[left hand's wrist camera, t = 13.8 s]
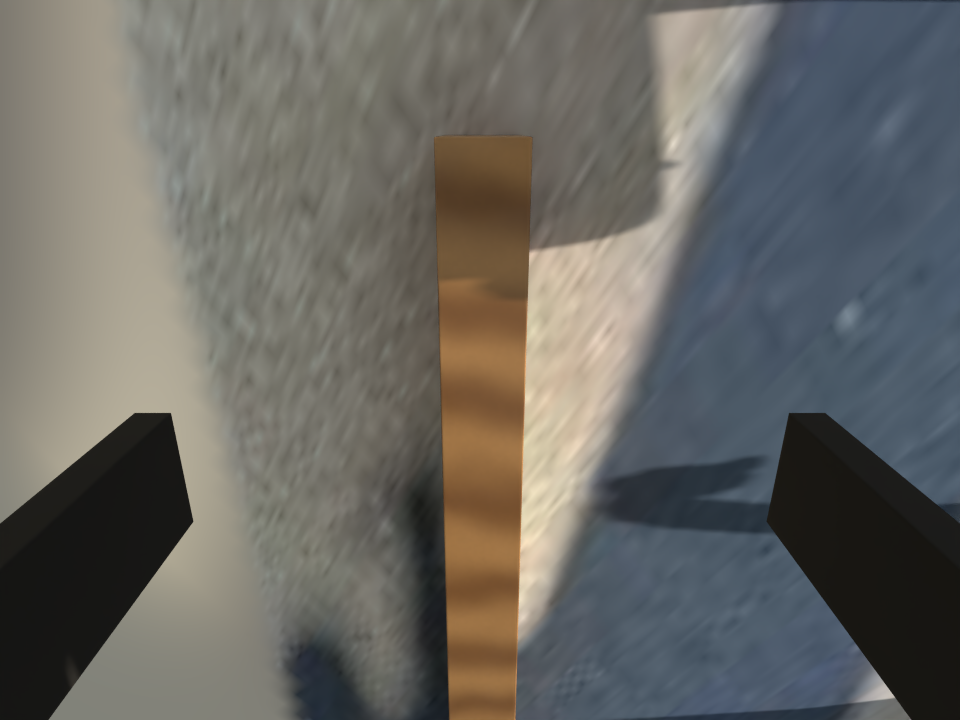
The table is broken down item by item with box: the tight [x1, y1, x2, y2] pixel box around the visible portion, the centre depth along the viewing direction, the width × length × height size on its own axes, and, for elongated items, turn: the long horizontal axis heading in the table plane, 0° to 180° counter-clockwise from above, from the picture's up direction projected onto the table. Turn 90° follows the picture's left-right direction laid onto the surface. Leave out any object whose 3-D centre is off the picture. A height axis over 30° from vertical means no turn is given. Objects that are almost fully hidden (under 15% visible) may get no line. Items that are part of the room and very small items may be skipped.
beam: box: [434, 135, 532, 720], centre depth 48 cm, size 70×5×8 cm, turn 0°
